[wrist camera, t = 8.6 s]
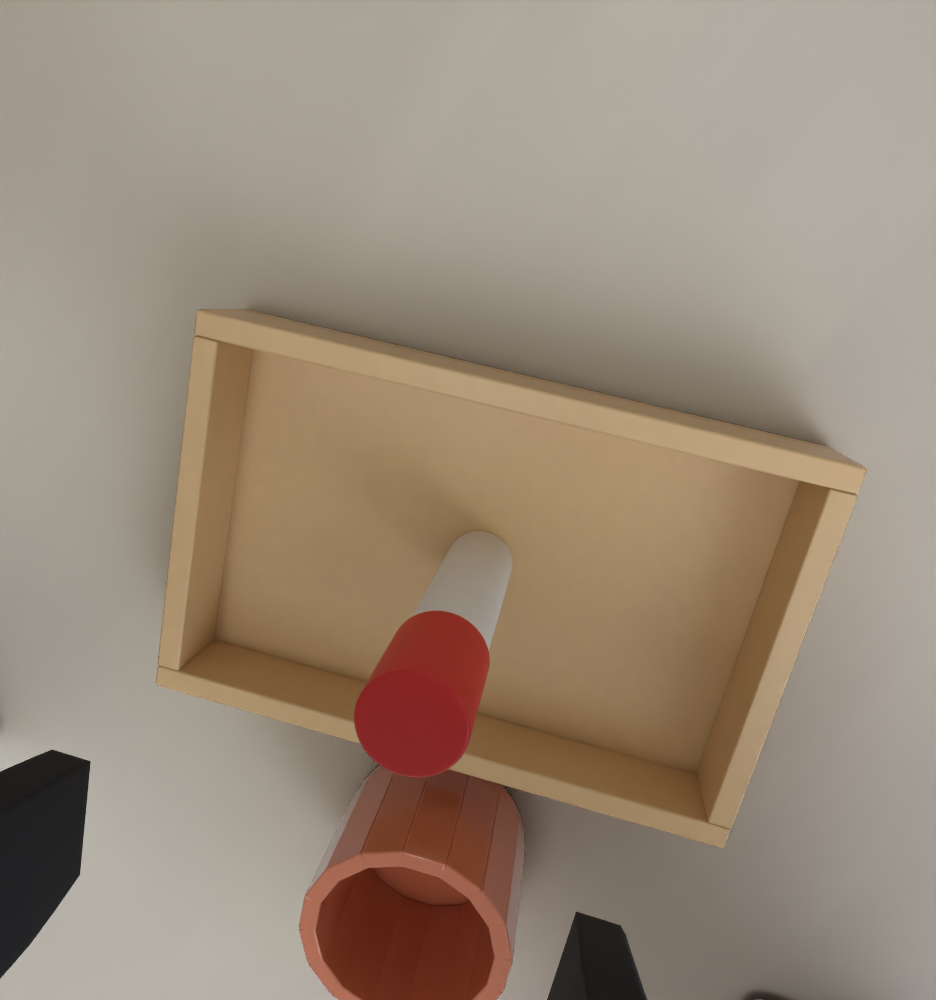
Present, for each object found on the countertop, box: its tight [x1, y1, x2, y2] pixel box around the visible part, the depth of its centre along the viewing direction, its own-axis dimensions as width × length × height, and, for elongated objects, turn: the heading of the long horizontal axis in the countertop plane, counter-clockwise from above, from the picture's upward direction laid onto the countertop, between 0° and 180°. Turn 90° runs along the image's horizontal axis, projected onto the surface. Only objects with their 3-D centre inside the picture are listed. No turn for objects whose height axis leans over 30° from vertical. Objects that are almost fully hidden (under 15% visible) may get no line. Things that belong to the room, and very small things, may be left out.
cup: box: [299, 766, 525, 1000], centre depth 20 cm, size 5×5×4 cm
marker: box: [354, 531, 513, 778], centre depth 15 cm, size 2×2×8 cm
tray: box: [156, 309, 867, 848], centre depth 19 cm, size 10×15×2 cm, turn 78°
